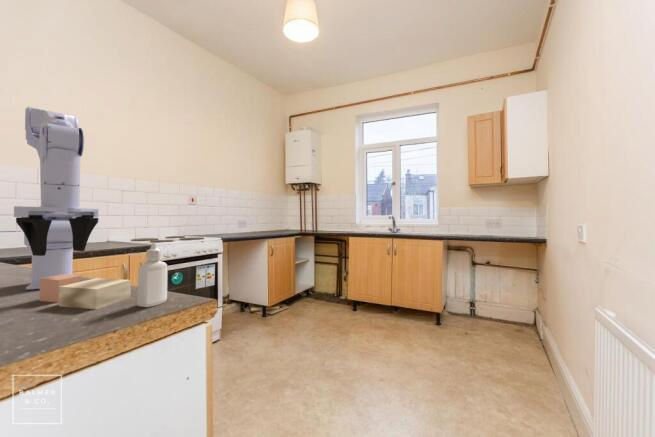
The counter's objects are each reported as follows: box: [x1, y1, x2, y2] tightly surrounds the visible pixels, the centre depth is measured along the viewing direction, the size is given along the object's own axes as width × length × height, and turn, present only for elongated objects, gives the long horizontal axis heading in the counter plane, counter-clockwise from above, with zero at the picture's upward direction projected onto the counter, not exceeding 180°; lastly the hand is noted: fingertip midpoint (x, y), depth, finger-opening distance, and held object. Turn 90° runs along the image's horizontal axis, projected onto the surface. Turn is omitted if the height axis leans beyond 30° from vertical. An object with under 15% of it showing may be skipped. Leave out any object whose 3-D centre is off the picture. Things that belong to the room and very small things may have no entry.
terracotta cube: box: [38, 274, 82, 304], centre depth 62 cm, size 4×4×4 cm
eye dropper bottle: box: [136, 242, 168, 308], centre depth 60 cm, size 4×6×12 cm
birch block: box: [58, 277, 132, 310], centre depth 60 cm, size 8×8×4 cm
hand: (60, 253), depth 61 cm, fingers open, 7 cm apart
